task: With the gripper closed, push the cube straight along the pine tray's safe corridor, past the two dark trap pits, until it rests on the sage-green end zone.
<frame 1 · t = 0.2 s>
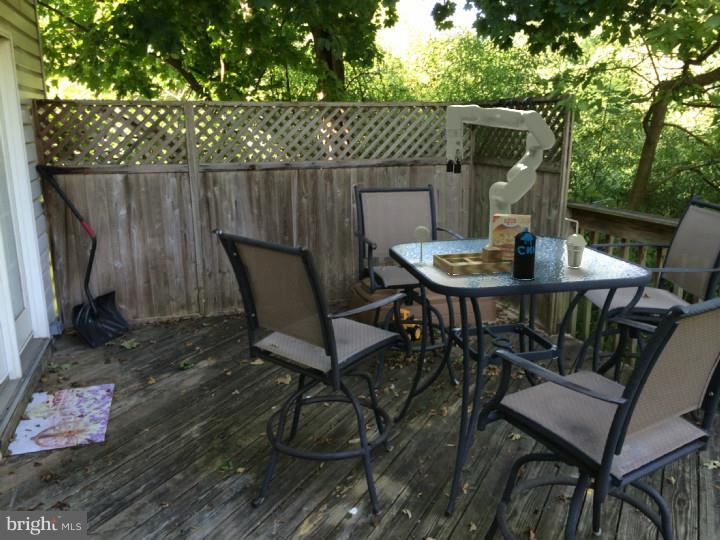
hand: (453, 172, 264), 37 cm above the table, tool pointing down, fingers open, 9 cm apart
aerosol can: (523, 278, 221), on the table
coffeecake box: (509, 259, 254), on the table
tray: (471, 267, 239), on the table
lollipop: (421, 260, 255), on the table
block: (491, 263, 236), point 2 cm above the table, touching tray
cup with straw: (573, 267, 238), on the table
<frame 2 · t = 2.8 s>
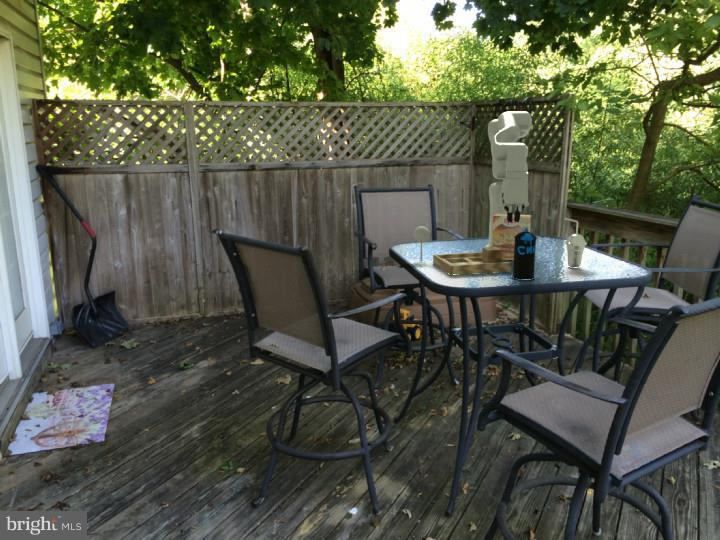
hand: (513, 221, 233), 19 cm above the table, tool pointing down, fingers closed
nothing on the table moved.
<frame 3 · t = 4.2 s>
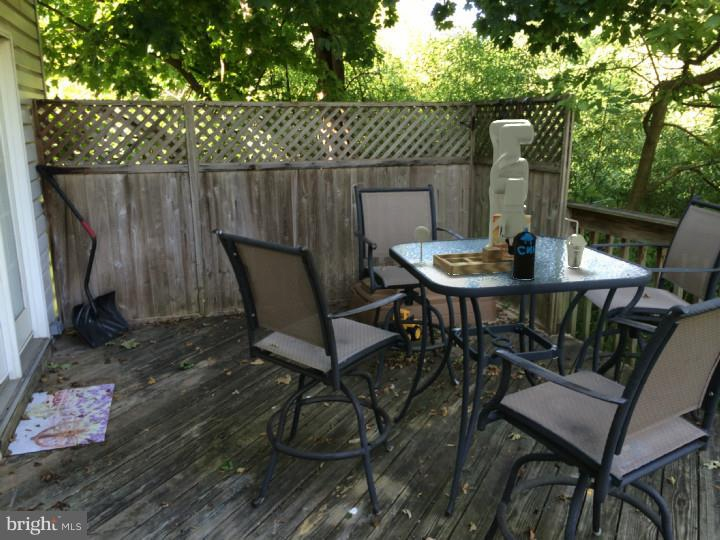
hand: (511, 254, 236), 6 cm above the table, tool pointing down, fingers closed
nothing on the table moved.
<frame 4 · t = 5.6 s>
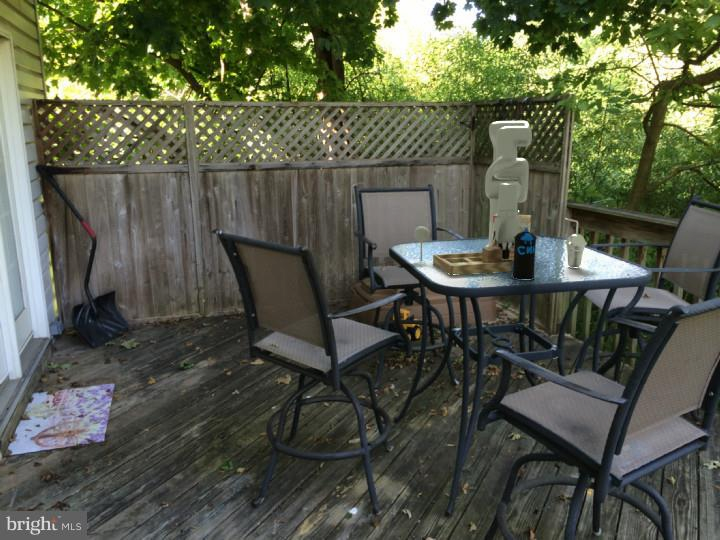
hand: (505, 258, 236), 4 cm above the table, tool pointing down, fingers closed
block: (491, 263, 236), point 3 cm above the table, touching gripper
everything else where it was.
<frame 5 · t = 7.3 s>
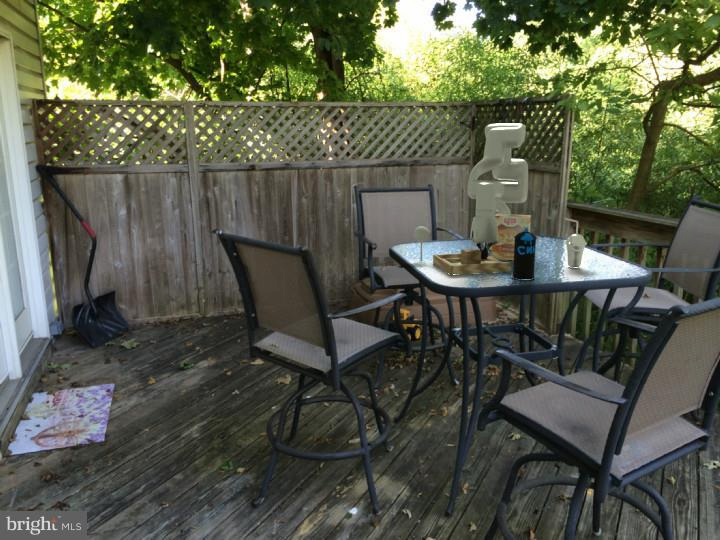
hand: (483, 259, 234), 4 cm above the table, tool pointing down, fingers closed
block: (470, 264, 233), point 3 cm above the table, touching gripper
everything else where it was.
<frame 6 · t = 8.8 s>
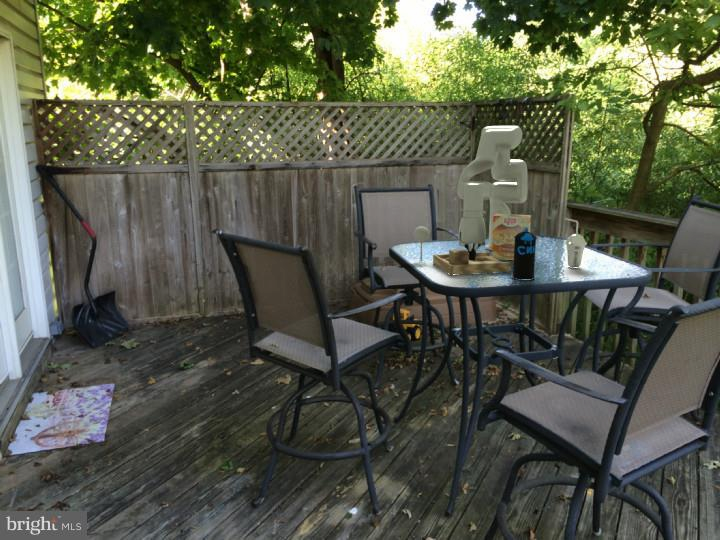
hand: (471, 259, 233), 4 cm above the table, tool pointing down, fingers closed
block: (458, 265, 232), point 2 cm above the table, touching gripper, tray
everything else where it was.
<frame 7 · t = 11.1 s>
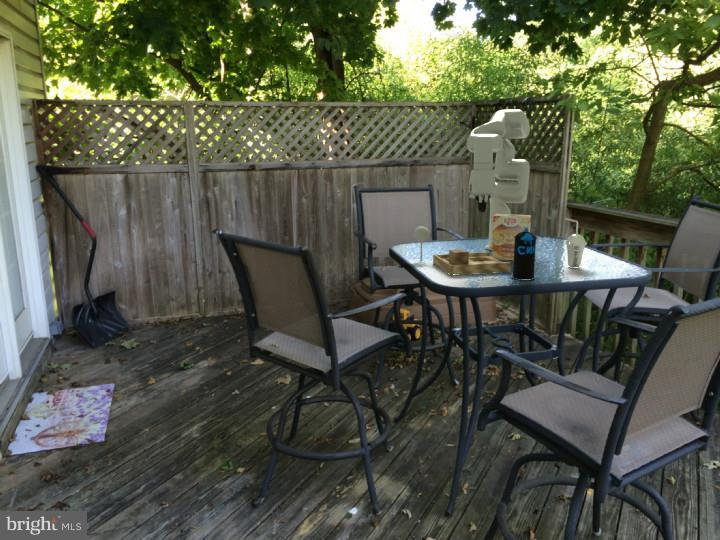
hand: (481, 211, 240), 22 cm above the table, tool pointing down, fingers closed
block: (458, 265, 232), point 2 cm above the table, touching tray
everything else where it was.
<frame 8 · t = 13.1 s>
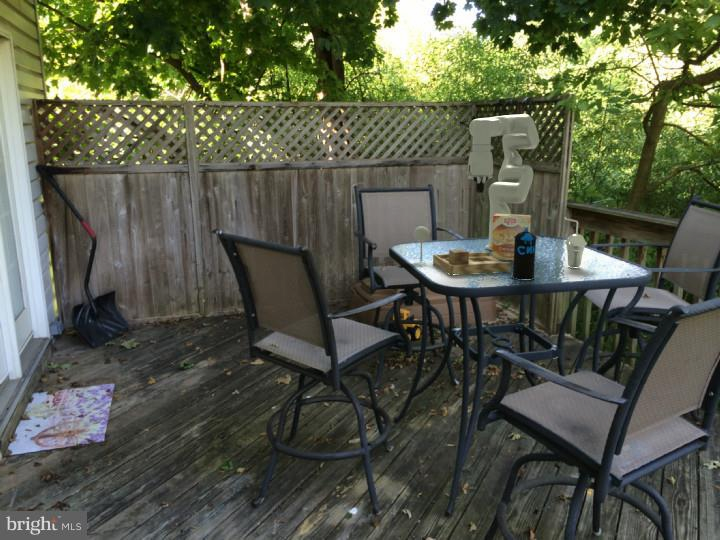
hand: (479, 192, 250), 29 cm above the table, tool pointing down, fingers closed
nothing on the table moved.
at the end: block inside the target area on the tray (0.5 cm from its centre), point 2.5 cm above the tray's base; block tilted 0° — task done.
